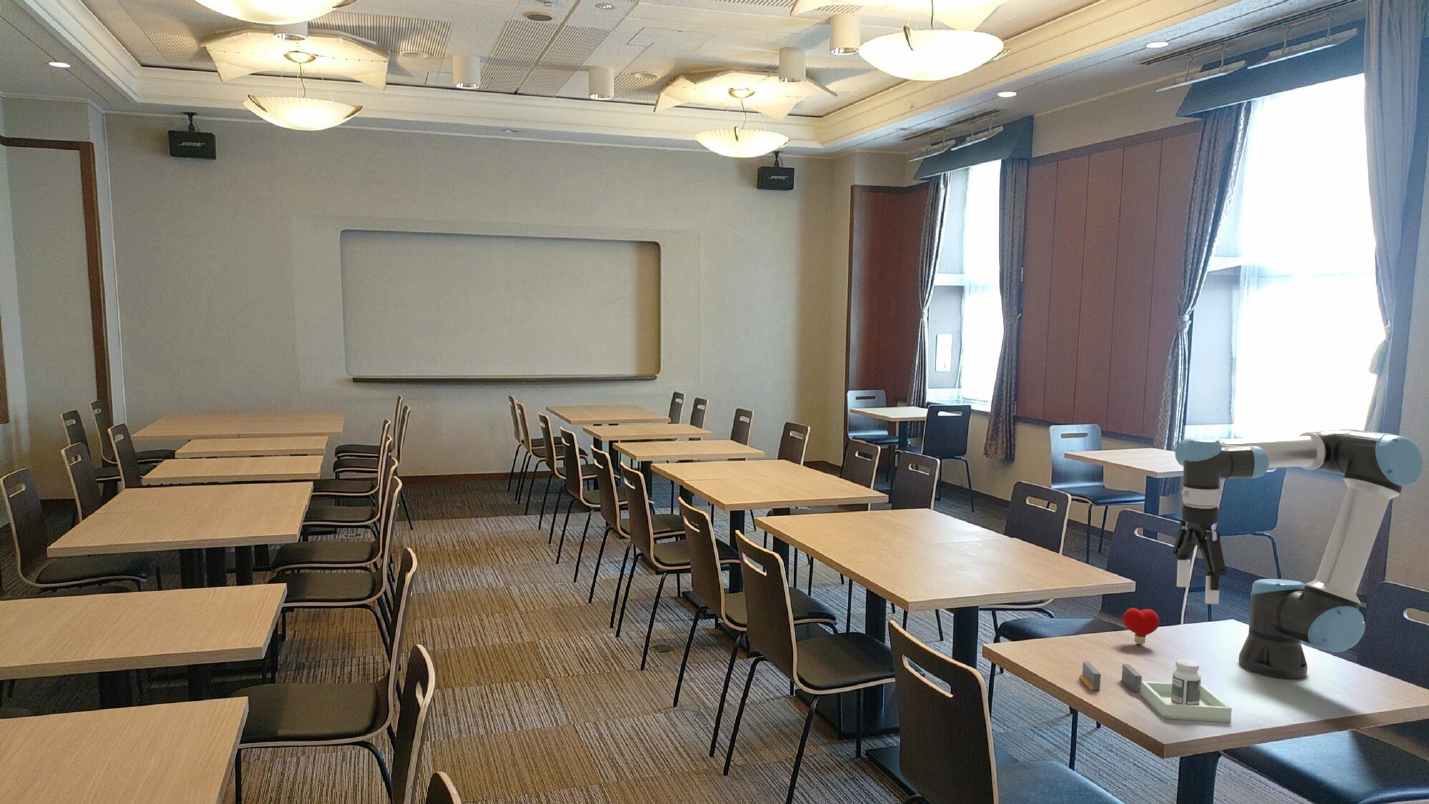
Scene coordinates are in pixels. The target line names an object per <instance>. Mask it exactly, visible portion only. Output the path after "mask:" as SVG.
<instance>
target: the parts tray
mask: <svg viewBox="0 0 1429 804" xmlns="http://www.w3.org/2000/svg"><path fill="white" fill-rule="evenodd" d="M1140 696H1142V697H1143V699H1145V700H1146V701H1147V703H1149V704H1150V705H1151V706H1152V707H1153V708H1154V709H1155V710H1156V711H1157V712H1158V713H1159V714H1160V715H1161V716H1162V717H1163V718H1164V719H1165V720H1167V719H1168V720H1169V719H1170V720H1184V721H1186V720H1187V721H1205V722H1220V723H1221V722H1223V723H1231V721H1232V707H1231V706H1229V705H1228V704H1227V703H1226V702H1225V701H1224V700H1222V699H1221V698H1220V697H1219V696H1217V695H1216V694H1215V693H1214V692H1212V691H1211V690H1210V689H1208V688H1207V687H1206V686H1205V685H1204V684H1202V683H1201V684H1200V701H1199V705H1184V704H1172V702H1171V696H1172V682H1163V681H1161V682H1160V681H1141V691H1140Z"/></svg>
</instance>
